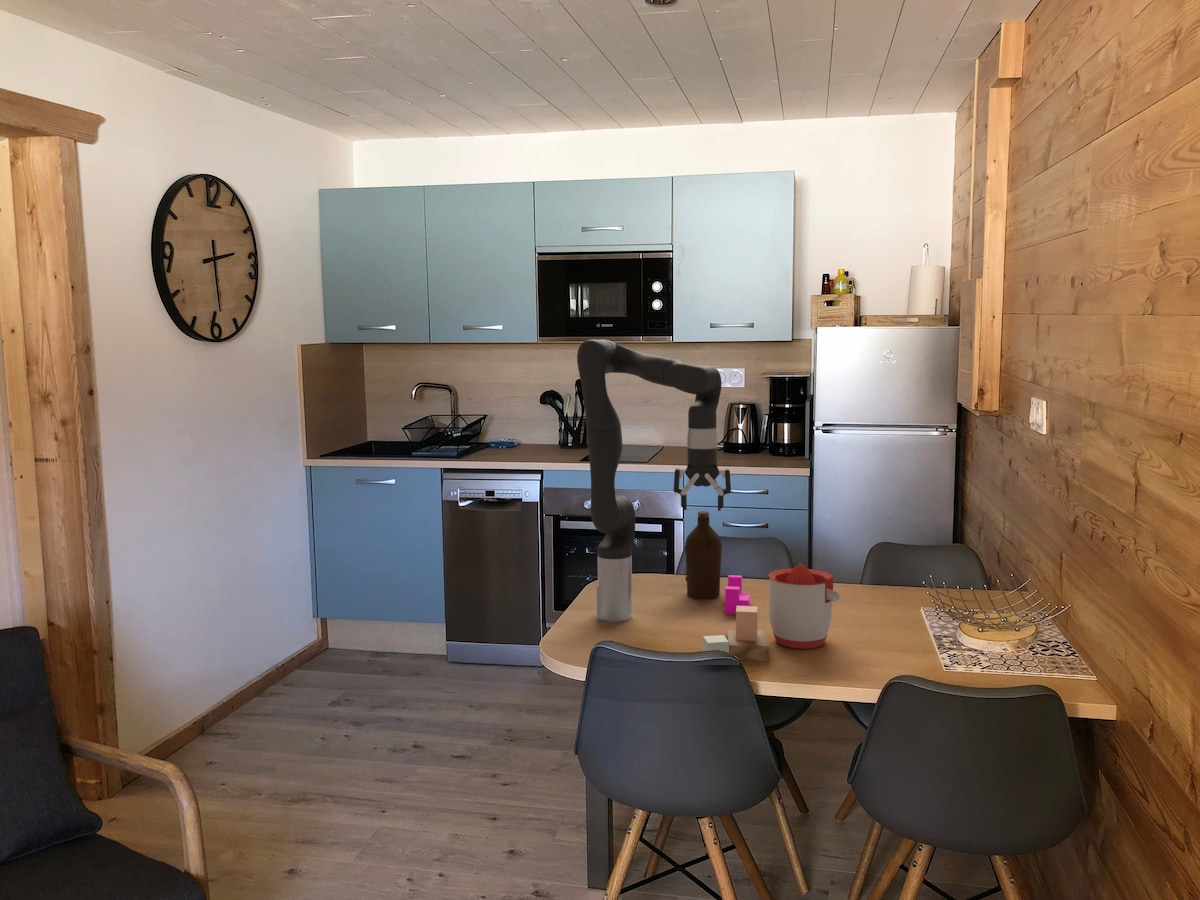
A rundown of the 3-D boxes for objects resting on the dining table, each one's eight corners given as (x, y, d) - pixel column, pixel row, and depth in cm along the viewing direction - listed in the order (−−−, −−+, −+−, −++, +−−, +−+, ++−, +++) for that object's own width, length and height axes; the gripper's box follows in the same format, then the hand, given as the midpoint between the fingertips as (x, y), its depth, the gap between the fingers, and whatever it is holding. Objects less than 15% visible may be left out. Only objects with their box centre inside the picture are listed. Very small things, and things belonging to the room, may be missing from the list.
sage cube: (707, 663, 221) (707, 642, 220) (702, 656, 226) (702, 636, 225) (728, 662, 221) (728, 641, 221) (723, 655, 226) (723, 635, 226)
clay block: (735, 640, 226) (736, 611, 225) (736, 633, 231) (736, 605, 230) (757, 640, 225) (757, 612, 224) (757, 634, 230) (757, 606, 229)
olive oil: (729, 596, 277) (729, 512, 274) (705, 603, 270) (705, 517, 267) (701, 589, 285) (701, 507, 282) (677, 596, 278) (677, 512, 275)
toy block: (748, 616, 258) (748, 589, 257) (725, 615, 259) (725, 588, 258) (750, 601, 272) (750, 575, 271) (728, 600, 273) (728, 575, 273)
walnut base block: (729, 661, 223) (729, 645, 222) (726, 645, 235) (726, 629, 234) (768, 662, 222) (768, 645, 222) (763, 645, 234) (763, 630, 234)
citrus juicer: (829, 658, 223) (830, 575, 221) (758, 647, 232) (759, 567, 229) (846, 639, 237) (848, 560, 234) (779, 629, 245) (780, 553, 243)
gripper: (672, 447, 234) (672, 512, 236) (730, 447, 232) (730, 513, 234) (674, 444, 242) (674, 506, 244) (731, 444, 240) (730, 507, 242)
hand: (702, 509), depth 239 cm, fingers open, 8 cm apart
